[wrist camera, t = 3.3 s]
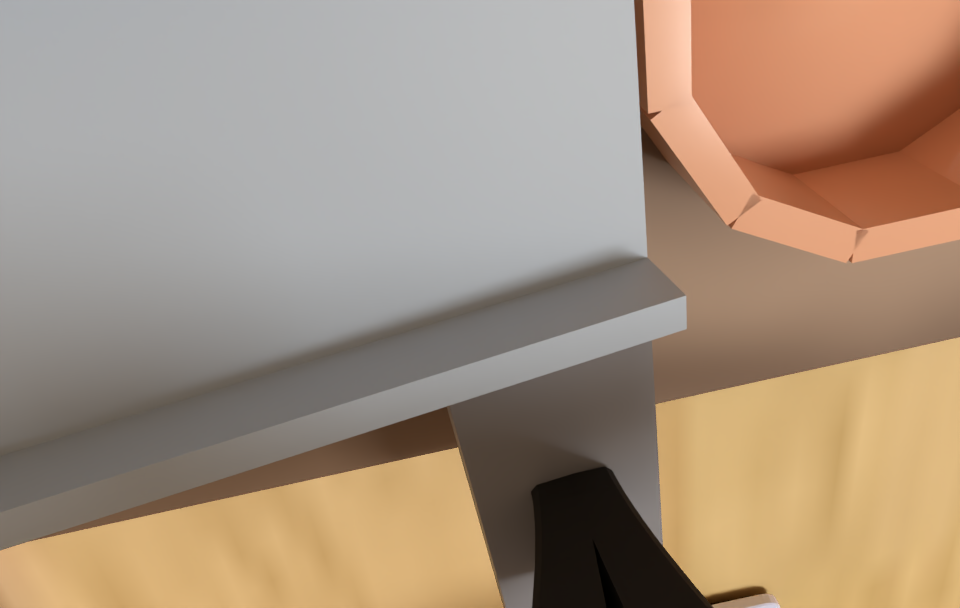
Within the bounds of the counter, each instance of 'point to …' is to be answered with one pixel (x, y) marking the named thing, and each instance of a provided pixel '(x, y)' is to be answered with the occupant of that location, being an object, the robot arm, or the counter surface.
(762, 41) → the orange bowl
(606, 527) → the robot arm
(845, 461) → the counter surface
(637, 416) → the lever
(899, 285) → the base
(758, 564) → the counter surface
